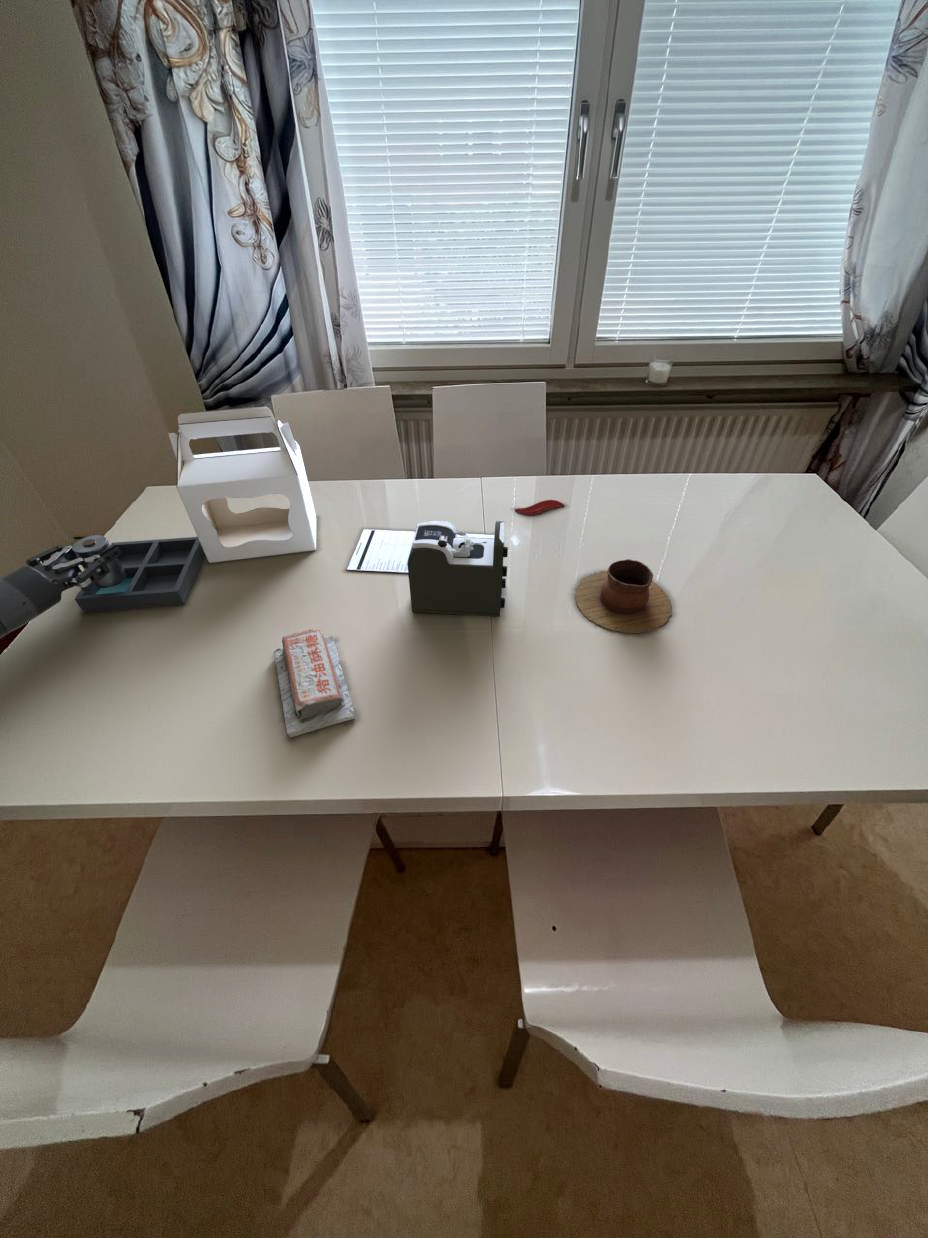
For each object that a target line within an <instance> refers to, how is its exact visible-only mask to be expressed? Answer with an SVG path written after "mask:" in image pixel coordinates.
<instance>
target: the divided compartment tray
mask: <svg viewBox="0 0 928 1238" xmlns="http://www.w3.org/2000/svg"><path fill="white" fill-rule="evenodd" d="M111 544H117V545H118V546H119V547H120V549H121V551H122V554H121V555H120V556H119V557H117V558H118V560H119V562H120V563H121V565H122V567H123V569H124V570H125V572H126V574H127V576H126V578H125V580H124V581H123V582H121V583H120V584H118V585H116V586H113V587H109V588H98V587H96V586H95V585H94V586H93V587H92V588H90V589H89V590H87V591H82V589H81V588H80V590H79V591H78V593H77V595H76V596H75V598H74V601H75V602H76V604H77V605H78V607H79V608H80V610H81V611H82V612H83V613H96V612H108V611H109V612H110V611H120V610H121V611H122V610H134V609H147V608H158V607H170V606H171V607H172V606H173V607H174V606H183V605H185V604H186V601H187V599H188V598H189V597H188V596H189V594H190V592H191V590H192V587H193V585H194V583H195V580H196V578H197V575H198V573H199V571H200V569H201V566H202V564H203V561H204V559H205V557H206V555H205V553H204V550H203V548H202V546H201V543H200V541H199V539H198V536H189V537H175V538H174V537H173V538H161V539H146V540H132V541H131V540H130V541H118V542H117V541H116V542H111Z"/></svg>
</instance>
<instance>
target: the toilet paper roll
mask: <svg viewBox="0 0 928 1238" xmlns="http://www.w3.org/2000/svg"><path fill="white" fill-rule="evenodd" d="M110 545H111V543H110V542H109V541H108V539H107V537H106V536H104V535H101V534H95V535H89V536H86V537H82V538H81V539H78V540H77V541H76V542H74V543H73V545H71V546H72V550H73V551H74V553H75V554H76V556H77V558H83V559H85V558H88V557H91V556H93V555H96V554H97V553H98V552H100V551H102V550H103V549H105V548H107V547H108V546H110ZM93 563H94V562H92V563H89V564H88V567H89V566H90V565H92V564H93ZM107 566H108V568H109V569H110V572H109V573H108V574H107V575H106V576H105V577H103V578H102V579H101V580H100V581H99V582H98V583H96V584H95V586H96V587H98V588H109V587H113V586H116V585H118V584H120V583H121V582H123V581H124V580H125V578H126V576H127V574H126V572H125V570H124V569H123V567H122V565H121V563H120V562H119V560H118V558H115V559H114V560H112V561H111V562H109V563H108V564H107ZM100 571H101V570H100ZM100 571H97V572H98V573H99V572H100Z"/></svg>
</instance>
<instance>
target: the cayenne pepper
mask: <svg viewBox="0 0 928 1238" xmlns="http://www.w3.org/2000/svg"><path fill="white" fill-rule="evenodd" d="M561 507H563V508H564V507H565V504H564V503H562V502H560V501H559V500H556V499H546V500H545V499H544V500H541V501H539V502H537V503H534V504H532V505H530V506H527V507H521V508H520V507H519V508H514V511H516V512H517V513H521V514H524V515H531V516H532V515H533V516H534V515H538V514H540V513H542V512H544V511H547V510H551V509H554V508H561Z"/></svg>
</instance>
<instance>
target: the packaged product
mask: <svg viewBox="0 0 928 1238" xmlns="http://www.w3.org/2000/svg"><path fill="white" fill-rule="evenodd" d="M281 638H282V640H281V643H282V648H276V649H275V650H274V651H273V657H274V663H275V667H276V668H275V669H276V673H277V680H278V686H279V693H280V698H281V703H282V711H283V716H284V723H285V729H286V735H288V737H289V738H290V739H292V738H294V737H297V736H300V735H304V734H307V733H311V732H314V731H317V730H320V729H323V728H327V727H331V726H333V725H336V724H340V723H343V722H347V721H352V720H354V719H356V714H355V713H356V712H355V710H354V706H353V702H352V698H351V695H350V691H349V688H348V684H347V682H346V678H345V674H344V670H343V668H342V665H341V662H340V657H339V654H338V650H337V647H336V643H335V640H334V637H333V635H331V636H328V637H325V636H324V633H323V631H322V630H320V629H313V628H310V629H308V630H303V631H300V632H295V633H292V634H288V635H287V634H286V635H283V636H282V637H281Z"/></svg>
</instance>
